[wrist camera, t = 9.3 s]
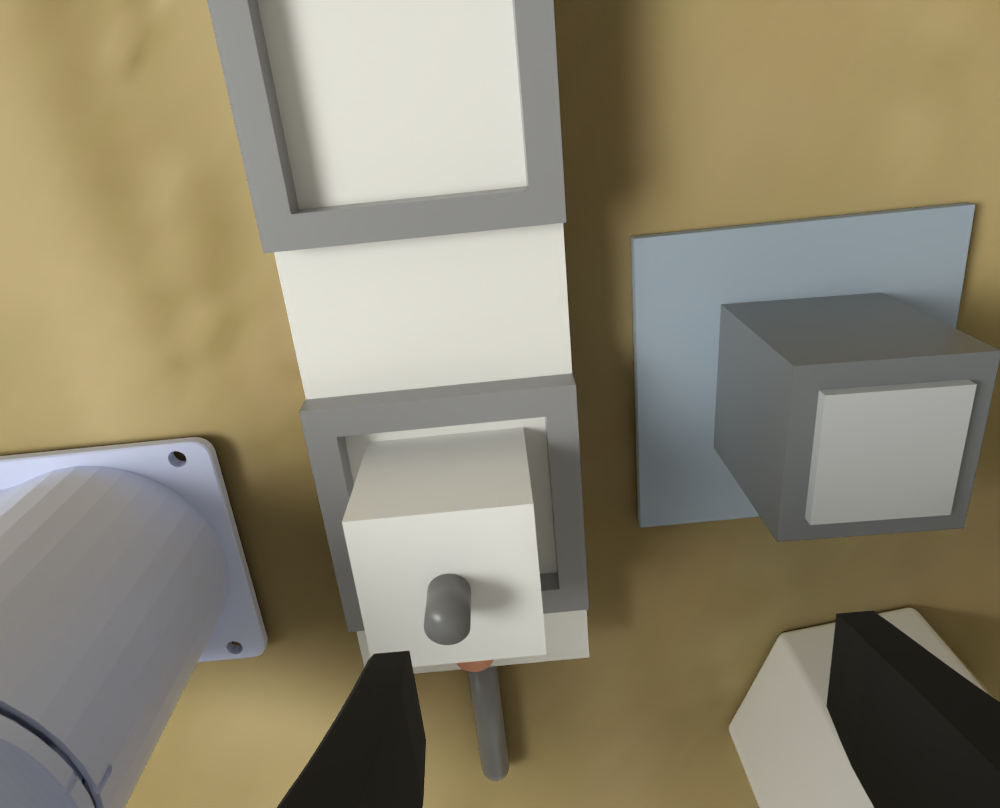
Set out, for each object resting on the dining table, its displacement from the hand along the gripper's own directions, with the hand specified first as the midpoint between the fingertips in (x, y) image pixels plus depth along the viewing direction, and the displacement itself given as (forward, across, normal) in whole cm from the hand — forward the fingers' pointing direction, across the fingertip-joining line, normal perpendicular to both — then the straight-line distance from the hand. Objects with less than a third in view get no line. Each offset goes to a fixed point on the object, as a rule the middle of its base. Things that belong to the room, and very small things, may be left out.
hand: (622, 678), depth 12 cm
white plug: (+8, +3, +1) cm, 9 cm away
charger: (+10, -7, -1) cm, 12 cm away
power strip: (+10, +3, -1) cm, 11 cm away
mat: (+10, -7, -1) cm, 12 cm away
